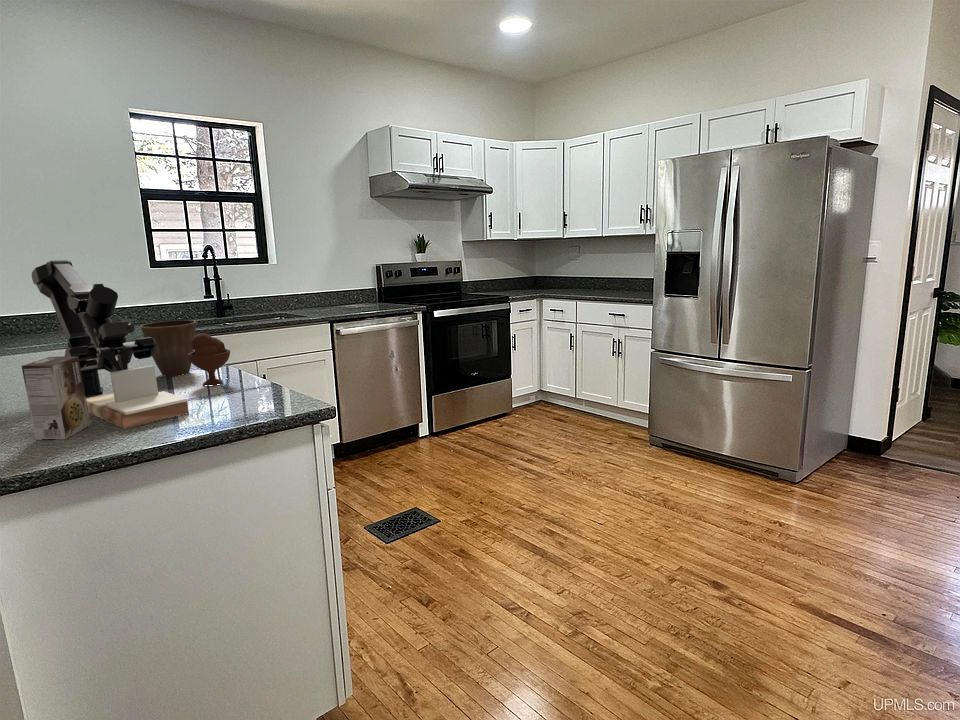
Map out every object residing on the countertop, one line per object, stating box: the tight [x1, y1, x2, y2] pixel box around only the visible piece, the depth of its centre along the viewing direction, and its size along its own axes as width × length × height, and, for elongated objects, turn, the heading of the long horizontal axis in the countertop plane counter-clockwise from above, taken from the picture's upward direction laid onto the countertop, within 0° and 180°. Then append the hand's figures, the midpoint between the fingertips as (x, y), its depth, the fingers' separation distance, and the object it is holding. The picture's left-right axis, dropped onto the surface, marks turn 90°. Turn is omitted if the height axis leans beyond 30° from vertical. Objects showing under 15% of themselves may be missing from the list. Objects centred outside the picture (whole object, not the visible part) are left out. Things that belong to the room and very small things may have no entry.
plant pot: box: [140, 319, 197, 377], centre depth 175 cm, size 15×15×16 cm
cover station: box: [86, 392, 190, 430], centre depth 136 cm, size 24×14×3 cm, turn 52°
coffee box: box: [20, 355, 92, 441], centre depth 121 cm, size 9×6×16 cm
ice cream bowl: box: [187, 333, 231, 385], centre depth 161 cm, size 11×11×15 cm
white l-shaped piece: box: [105, 365, 188, 415], centre depth 131 cm, size 12×13×8 cm
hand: (125, 379), depth 137 cm, fingers closed
